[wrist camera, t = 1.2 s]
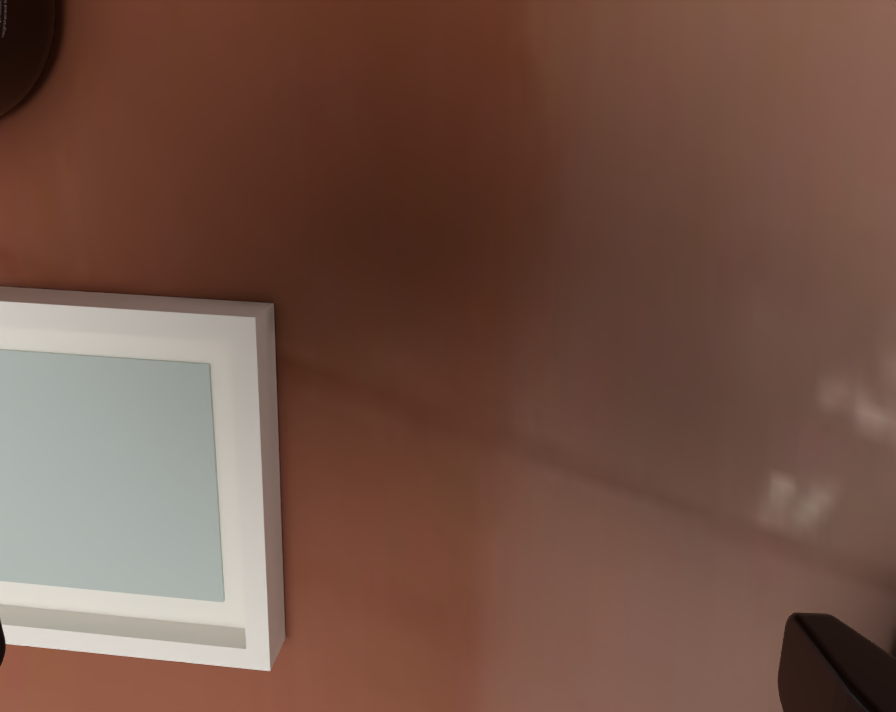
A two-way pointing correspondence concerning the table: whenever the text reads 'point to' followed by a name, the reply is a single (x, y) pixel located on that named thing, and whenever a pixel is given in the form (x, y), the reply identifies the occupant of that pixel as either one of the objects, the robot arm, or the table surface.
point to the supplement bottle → (23, 46)
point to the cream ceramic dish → (140, 477)
